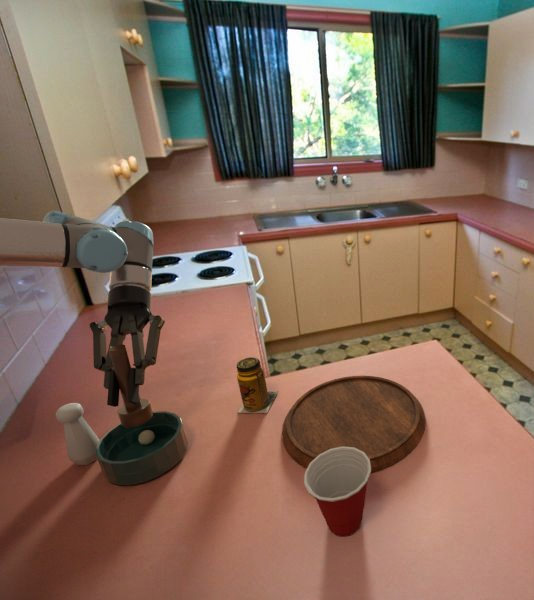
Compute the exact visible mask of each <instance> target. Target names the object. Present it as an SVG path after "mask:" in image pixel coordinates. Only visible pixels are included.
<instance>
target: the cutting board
mask: <svg viewBox="0 0 534 600" xmlns="http://www.w3.org/2000/svg"><path fill="white" fill-rule="evenodd" d="M425 427H426V415H425V411H424V408H423V405H422V403H421V402H420V401H419V399H418V398H417V397H416V396H415V395H414V394H413V393H412V392H411V391H410V390H409V389H408V388H407V387H406V386H404V385H402V384H401V383H399V382H397V381H394V380H391V379H389V378H386V377H385V378H384V377H380V376H374V375H351V376H343V377H339V378H334V379H331V380H328V381H325V382H322V383H320V384H318V385H316V386H314V387H312V388H311V389H309V390H308V391H306V392H305V393H304V394H302V395H301V396H300V397H299V398H298V399H297V400H296V401H295V402H294V404H292V406H291V408H290V409H289V410H288V412H287V414H286V416H285V418H284V420H283V423H282V429H281V437H282V443H283V446H284V449H285V450H286V452H287V454H288V455H289V456H290V458H291V459H292V460H294V462H296V463H297V464H298V465H300V466H301V467H303V468H305V469H306V470H307V468H308V466H309V464H310V463H311V462H312V461H313V460H314V459H315V458H316V457H317V456H318V455H320V454H321V453H323V452H325V451H327V450H329V449H333V448H338V447H354V448H356V449H358V450H360V451H363V452H364V453H365V454H366V456H367V457H368V458H369V459H370V465H371V473H370V475H372V474H374V473H377V472H381V471H383V470H386V469H388V468H390V467H392V466H395V465H396V464H398V463H400V462H401V461H402V460H405V458H407V456H409V455H410V454H411V453H412V452H413V451H414V450H415V449H416V447H418V445H419V443H420V442H421V440H422V438H423V436H424V432H425Z"/></svg>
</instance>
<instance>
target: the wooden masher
mask: <svg viewBox="0 0 534 600" xmlns="http://www.w3.org/2000/svg"><path fill="white" fill-rule="evenodd" d="M108 348H109V347H108ZM108 348H107V353H108V352H109V355H110V358H111V362H112V365H113V368H114V372H115V375H116V378H117V382H118V385H119V388H120V391H119V393H120V395H121V398H122V401H123V403H122V404H121V405H120V406H118V408H117V415H118V419H119V421H120V422H119V423H121V425H122V426H124V427H135V426H139V425H141V424H144V423H145V422H147V421H149V420H150V419H151V418H152V416H153V412H154V411H153V409H152V405H151V401H150V400H149V399H147V398H141V396H140V395H139V398H138V404H132V403H129V402H128V387H129V371H130V368H132V365H131V361H130V357H129V354H128V350H127V347H126V345H125V344H124V343H123V344H120V345H115V346H112V347H110V348H109V349H108Z"/></svg>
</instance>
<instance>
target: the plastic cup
mask: <svg viewBox="0 0 534 600" xmlns="http://www.w3.org/2000/svg"><path fill="white" fill-rule="evenodd" d="M370 473H371V465H370V459H369V458H368V457H367V456H366V454H365V453H364V452H363V451H360V450H358V449H356V448H354V447H338V448H333V449H329V450H327V451H325V452H323V453H321V454H320V455H318V456H317V457H316V458H315V459H314V460H313V461H312V462H311V463H310V464H309V466H308V468H307V469H306V470H305V472H304V479H303V485H304V486H305V488H306V490H307V492H308V494H309V495H310V496H312V497H313V498H314V499H316V503H317V505H318V508H319V509H320V512H321V514H322V517H323V518H324V521H325V523H326V526H327V528H328V530H329V531H330V533H332V534H333V535H335V536H337V537H342V538H343V537H348V536H351V535H354V534H355V533H356V532H357V531H358V530H359V528H360V527H361V525H362V521H363V518H364V510H365V506H366V496H367V487H368V483H369V482H368V481H369V478H370V475H371V474H372V473H371V474H370Z"/></svg>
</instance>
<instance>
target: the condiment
mask: <svg viewBox="0 0 534 600" xmlns="http://www.w3.org/2000/svg"><path fill="white" fill-rule="evenodd" d="M236 372H237V374H236V378H237V379H236V380H237V384H238V387H239V392H240V396H241V401H242V404H241V405H240V407H239V409H238V410H237V413H238V414H239V413H240V414H241V413H242V414H263V413H264V414H267V413H268V412H269V410H270V409H271V406H272V405H273V403H274V401H275V400H276V397H277V395H278V393H279V390H275V391H274V390H273V391H272V390H271V391H268V386H267V381H266V377H265V371H264V368H262V365H261V361H260V359H259V358H257V357H253V356H252V357H246V358H243V359H241V360H239V361H238V362H237V364H236Z"/></svg>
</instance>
